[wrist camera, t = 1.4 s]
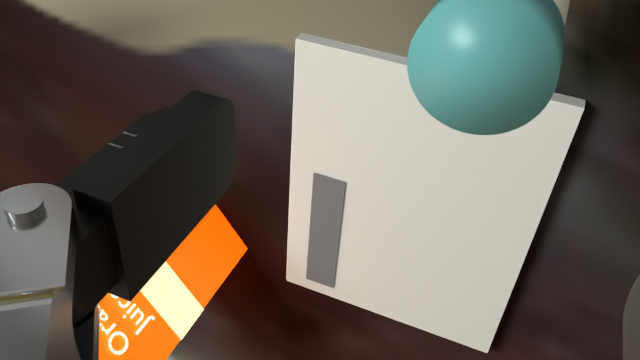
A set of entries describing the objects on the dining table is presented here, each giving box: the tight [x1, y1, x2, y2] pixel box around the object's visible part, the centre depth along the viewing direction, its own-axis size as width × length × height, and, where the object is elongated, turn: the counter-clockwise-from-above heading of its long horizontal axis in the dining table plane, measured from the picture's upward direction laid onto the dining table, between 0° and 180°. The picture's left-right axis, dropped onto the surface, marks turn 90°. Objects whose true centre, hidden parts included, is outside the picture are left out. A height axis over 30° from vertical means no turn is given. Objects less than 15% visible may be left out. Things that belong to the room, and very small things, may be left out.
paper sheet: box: [286, 33, 585, 353], centre depth 34 cm, size 14×18×1 cm
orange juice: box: [98, 204, 248, 360], centre depth 35 cm, size 8×9×20 cm
